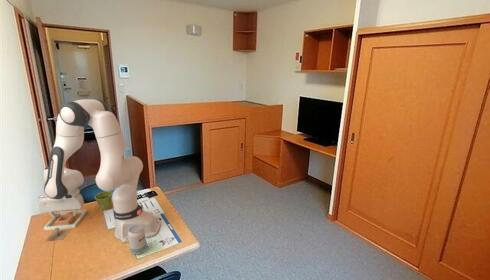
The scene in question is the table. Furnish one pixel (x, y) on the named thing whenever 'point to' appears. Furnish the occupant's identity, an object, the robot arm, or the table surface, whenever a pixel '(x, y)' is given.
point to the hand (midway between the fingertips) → (64, 216)
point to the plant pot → (104, 200)
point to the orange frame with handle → (64, 219)
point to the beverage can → (137, 239)
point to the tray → (48, 227)
